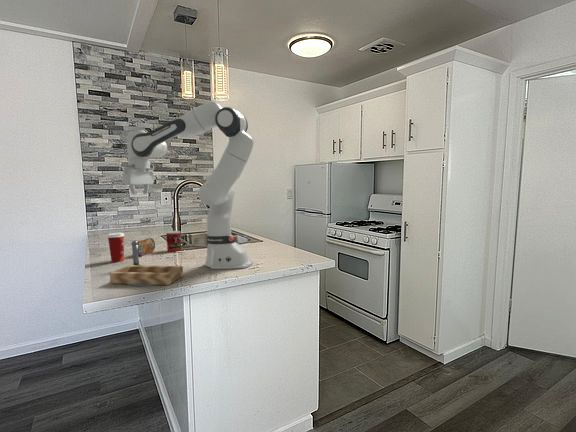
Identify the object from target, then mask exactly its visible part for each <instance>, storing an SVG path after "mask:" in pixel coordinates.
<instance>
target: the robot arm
mask: <svg viewBox="0 0 576 432" xmlns="http://www.w3.org/2000/svg"><path fill="white" fill-rule="evenodd" d="M215 127H217V128H218V130H220V131H221V132H222V133H223V134H224V135H225V136H226V137H227V138H228V143H227V146H226V148H225V150H224V152H223V153H222V155H221V158H220V160H219V162H218V163H217V166H216V167H215V169H214V170H213V171H212V172H211V174H210V175H209V177H208V178H207V180H206V181H205V182H204V183H203V184H202V185H201V186H200V187H199V189H198V198H199V201H200V202H201V203H203V204H204V205H207V206H209V210H208V214H207V216H206V238H205V240H206V248H207V249H206V257H205V262H204V265H205V267H208V268H210V269H211V270H226V269H227V270H229V269H231V270H232V269H246V268H249V267H250V266H252V265H253V263H254V260H253V259H252V258H249V254H248V253H249V252H248V251H247V249H246V248H244V247H243V246H242V245H240V244H239V243H238V242H236V238H237V235H233V234H232V222H231V221H232V220H231V218H232V217H231V216H232V210H233V202H234V201H233V200H234V197H235V193H236V192H235V188H234V187H233V185H234V184H235V182H237V181H238V179H239V178H240V177H241V175H242V172H243V171H244V168H245V166H246V165H247V163H248V161H249V159H250V156H251V153H252V151H253V148H254V139H253V138H252V137H251V135H249V133H247V131H248V129H249V124H248V120H247V118H246V117H245V116H244V115H243V114H242V113H241V112H239V110H236V109H235V108H233V107H229V106H225V107H222V106H221V104H219V102H216V101H215V100H214V101H211V100H210V101H207V102H205V103H203V104H201V105H199V106H196V107H195V108H193V109H191V110H190V111H188V112H186V113H184V114H183V115H181V116H179V117H177V118H175V119H173V120H171V121H168V122H167V123H164V124H162V125H161V126H158V127H156V128H154V129H152V130H151V131H148V132H147V131H145V130H144V129H133V130H130V131H129V132H128V133H127V136H126V137H127V138H126V150H127V153H128V154H127V164H125V166H124V167H123V171H122V182H123V185H126V186H128V188H129V191H130V192H131V193H130V194H131V195H134V196H135V195H137V190H136V185H138V186H139V185H143V190H142V193H143V195H147V194H149V189H150V185H153V184H154V183H155V172H154V170H155V165H154V164H152V163H151V162H150V161H149V158H155V159H159V158H163V157H164V156H166V155H167V153H168V145H167V144H168V143H167V141H169V140H171V139H174V138H177V137H198V136H200V135H203V134H204V133H207V132H208V131H210V130H211V129H213V128H215Z"/></svg>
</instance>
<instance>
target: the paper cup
mask: <svg viewBox="0 0 576 432" xmlns="http://www.w3.org/2000/svg"><path fill="white" fill-rule="evenodd" d="M107 239H108V246H109V254H110V260H111V261H110V262H111V263H121V262H124V261H125V233H124V232H112V233H108V234H107Z"/></svg>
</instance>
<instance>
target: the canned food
mask: <svg viewBox="0 0 576 432" xmlns="http://www.w3.org/2000/svg"><path fill="white" fill-rule="evenodd" d="M166 248H167V252H168V251H169V252H170V253H175V251H177V252H180V250H181V251H182V236H181V230H171V231H166Z"/></svg>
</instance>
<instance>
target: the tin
mask: <svg viewBox="0 0 576 432" xmlns="http://www.w3.org/2000/svg"><path fill="white" fill-rule="evenodd" d="M136 241H137V242H138V256H139V257H145V256H147V255H150V254H153V252H154V251H155V248H156V243H155V240H154V239H153V238H151V237H148V238H144V239H140V240H136Z"/></svg>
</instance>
